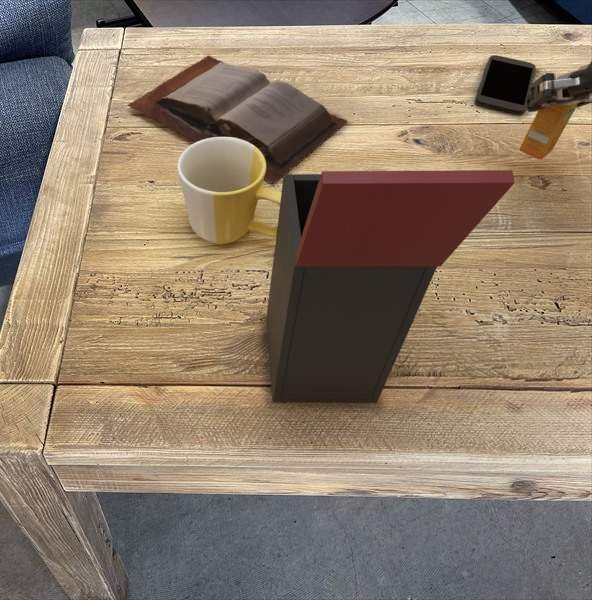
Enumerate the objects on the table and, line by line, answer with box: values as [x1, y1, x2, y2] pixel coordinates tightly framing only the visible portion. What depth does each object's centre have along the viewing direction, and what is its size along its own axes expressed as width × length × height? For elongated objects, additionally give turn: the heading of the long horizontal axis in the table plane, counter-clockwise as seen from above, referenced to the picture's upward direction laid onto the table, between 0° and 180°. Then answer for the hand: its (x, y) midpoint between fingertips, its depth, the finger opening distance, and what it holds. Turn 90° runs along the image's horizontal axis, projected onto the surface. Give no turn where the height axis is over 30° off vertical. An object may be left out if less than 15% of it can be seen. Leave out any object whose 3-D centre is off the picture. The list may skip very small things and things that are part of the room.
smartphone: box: [474, 54, 536, 115], centre depth 95 cm, size 7×15×1 cm, turn 154°
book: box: [127, 55, 348, 184], centre depth 91 cm, size 20×28×4 cm
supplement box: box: [519, 91, 578, 161], centre depth 76 cm, size 3×3×10 cm
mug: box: [176, 137, 282, 245], centre depth 72 cm, size 14×10×10 cm
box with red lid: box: [265, 173, 438, 404], centre depth 56 cm, size 11×11×21 cm
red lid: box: [295, 169, 516, 268], centre depth 39 cm, size 12×11×1 cm
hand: (549, 102), depth 77 cm, fingers closed on supplement box, 4 cm apart
